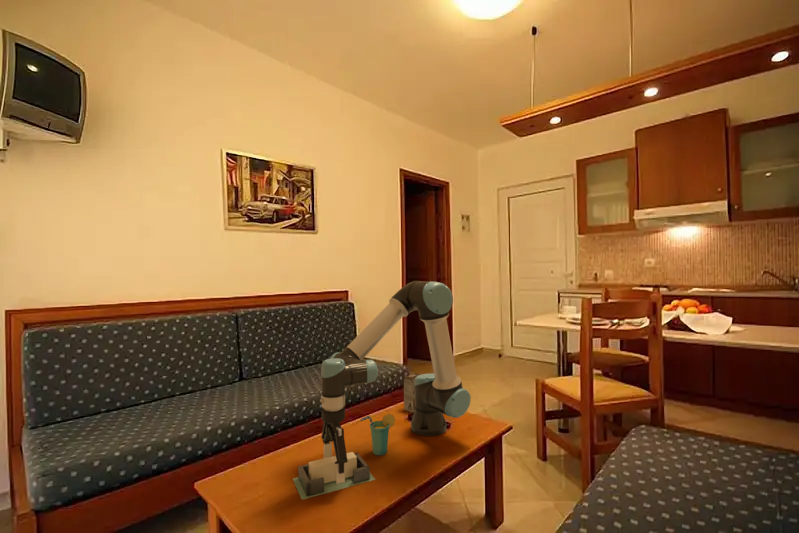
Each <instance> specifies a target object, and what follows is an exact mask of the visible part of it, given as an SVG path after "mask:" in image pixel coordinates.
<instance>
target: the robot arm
mask: <svg viewBox="0 0 799 533" xmlns="http://www.w3.org/2000/svg"><path fill="white" fill-rule="evenodd" d="M388 302H389V303H388V304H387V306H385V307H384V308H383V309H382V310H381V311H380V312H379V313H378V315H376V316H375V317H374V319H372V321H371V322H369V323H368V325H367V326H365V328H364V329H363V330H362V331H361V332H360V333H359V334H358V335H357V336H356V337H355V338H354V339H353V340H352V341H351V342H350V343H349V344H348V345H347V346H346V347H345V348H344V349H343V350H342V351H340V352H334V353H333V354H332V355H331V356H330V358H327V359H325V360H323V361H322V363H321V369H320V372H321V373H320V378H321V398H320V399H319V402H320V403H321V421H322V422H323V426H322V432H321V440H322V442H323V459H324V458H328V457H333V448H334V453H335V456H336V459H337V461H336V462H335V464H336V484H338V483H342V482H345V463H346V462H348V460H347V454H346V453H347V448H346V447H347V446H346V440H345V429H344V428H343V427H342V425H340V423H341V422H342V421H344V420H345V419H346V407H345V406H346V388H348V387H354V386H359V385H363V384H369V383H372V382H375V381H376V380H377V379H378V376H379V370H378V365H377V363H376V361H374V360H373V359H364V358H365V357H366V356H367V355H368V354H369V353H370V352H371V351H372V350H373V349H374V348H375V347H376V346H377V345H378V344H379V342H381V341H382V339H383V338H385V337H386V335H387V334H388V333H389V332H390V331H391V330H392V329H393V328H394V326H396V324H398V322H400V321H401V319H402V318H404V317H408V315H409V314H411V312H414V311H418V316H419V320H420V321H422V322H423V323H424V326H425V327H424V328H425V333H426V338H427V343H428V347H429V353H430V358H431V364H432V370H433V373H423V374H421V375H419V376H417V377H416V378H415V385H414V386H415V412H414V413H413V415H412V419H411V422H410V430H411V431H412V432H413V434H416V435H419V436H422V437H423V436H424V437H436V436H441V435H443V434H444V433H445V432H446V431H447V422H446V419H445V416H448V417H450V418H454V419H458V418H460V417H463V416H464V415H465V414H466V413H467V411H468V409H469V407H470V406H471V405H470V404H471V398H472V397H471V394H470V391H468V390H467V389H466V388H464V387H463V382H462V378H461V377H460V376H459V375H457V370H456V365H455V359H454V354H453V349H452V343H451V339H450V338H451V337H450V332H449V326H448V320H447V319H448V317H449V316H450V310H451V309H452V305H453V303H454V298H453V293H452V290H451V289H450V288H449V287H448V286H447V285H446V284H445V283H442V282H438V281H434V280H433V281H421V280H413V281H411V282H409V283H406V285H404V286H403V287H402V288H400V289H399V290H397V292H395V294H393V296H391V297H390V299H389V300H388ZM363 359H364V360H363ZM444 415H445V416H444Z"/></svg>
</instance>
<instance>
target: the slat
mask: <svg viewBox="0 0 799 533" xmlns="http://www.w3.org/2000/svg"><path fill="white" fill-rule="evenodd" d="M354 453H355V452H353V451H350V452H346V454H347V460H348V462H346V463H345V478H347V477H351V476H353V469H357V457H356V455H355V454H354ZM336 461H337V459H336V455H332V457H328V458H324V457H323V458H321V459H316V460H312V461H309V462H308V464H309V481H310V480H314V479H318V478H322V477H323V478H324V484H325V483H328V482H332V481H336V464H335V462H336Z"/></svg>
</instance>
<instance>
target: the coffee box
mask: <svg viewBox="0 0 799 533" xmlns="http://www.w3.org/2000/svg"><path fill="white" fill-rule="evenodd" d="M419 375H422V374H420V373H416V372H415V373H413V374H410V375H406V376H403V411H407V412H409V413H413V412H415V386H414V385H415V378H416V377H417V376H419Z"/></svg>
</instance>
